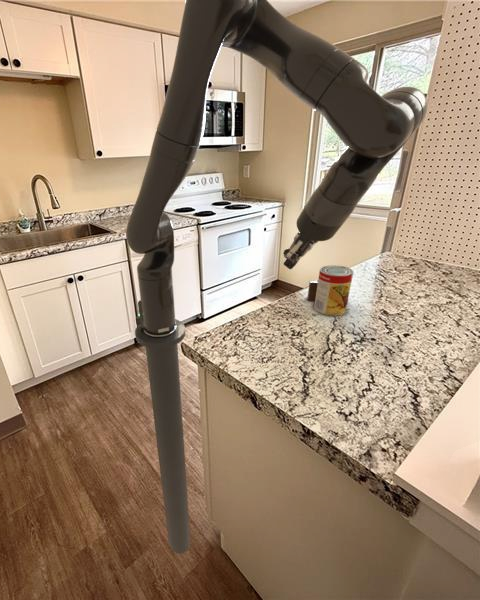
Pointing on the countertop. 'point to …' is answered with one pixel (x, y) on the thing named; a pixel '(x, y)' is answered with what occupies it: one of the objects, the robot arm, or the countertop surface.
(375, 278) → the countertop surface
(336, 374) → the countertop surface
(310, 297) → the brown rectangular block
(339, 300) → the canned food
